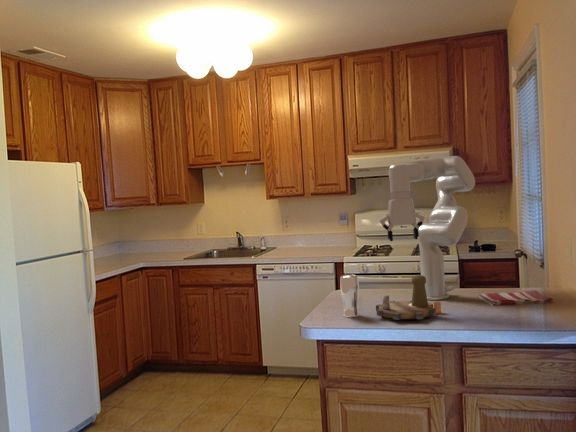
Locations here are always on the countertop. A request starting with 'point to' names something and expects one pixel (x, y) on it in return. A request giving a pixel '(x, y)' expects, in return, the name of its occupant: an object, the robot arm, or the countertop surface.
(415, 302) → the cork
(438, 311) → the orange wooden block
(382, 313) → the sprocket wheel
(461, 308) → the countertop surface
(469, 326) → the countertop surface
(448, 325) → the countertop surface
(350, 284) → the beer glass
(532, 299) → the dish towel
